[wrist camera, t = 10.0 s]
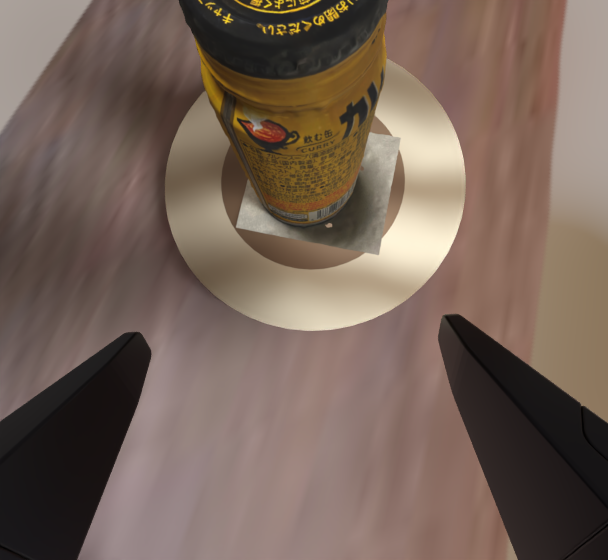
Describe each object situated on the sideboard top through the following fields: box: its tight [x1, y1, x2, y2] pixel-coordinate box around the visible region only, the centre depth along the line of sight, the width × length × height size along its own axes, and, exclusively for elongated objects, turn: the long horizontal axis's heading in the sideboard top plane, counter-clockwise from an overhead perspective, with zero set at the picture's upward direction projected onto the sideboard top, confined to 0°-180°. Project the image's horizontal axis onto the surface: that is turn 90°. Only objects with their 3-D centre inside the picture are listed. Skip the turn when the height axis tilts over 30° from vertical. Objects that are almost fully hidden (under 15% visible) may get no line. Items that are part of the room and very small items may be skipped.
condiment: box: [179, 0, 401, 255], centre depth 13 cm, size 7×8×12 cm
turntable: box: [165, 58, 466, 331], centre depth 20 cm, size 18×18×2 cm
